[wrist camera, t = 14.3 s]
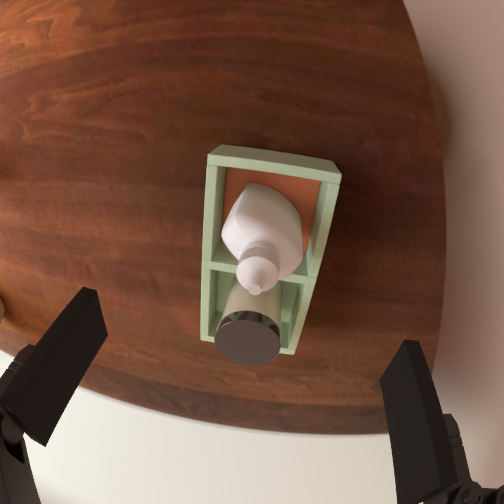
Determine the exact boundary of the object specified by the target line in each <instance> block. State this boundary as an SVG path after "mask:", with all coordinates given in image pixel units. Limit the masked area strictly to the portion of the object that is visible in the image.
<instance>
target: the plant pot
mask: <svg viewBox="0 0 504 504" xmlns="http://www.w3.org/2000/svg"><path fill="white" fill-rule="evenodd" d="M4 312H5V308H4V304H3V302H2V300H1V298H0V323H1V320H2V318H3V315H4Z"/></svg>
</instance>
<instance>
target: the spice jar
mask: <svg viewBox="0 0 504 504" xmlns="http://www.w3.org/2000/svg"><path fill="white" fill-rule="evenodd" d="M282 294H283V286H282V282H281V280H278V281H277V283H276V284H275V286H274V287H272V288H271V289H269V290H267V291H263V292H261V293H260V294H258V295H252V294H250V293H249V291H248V289H246V288H244V287H243V286H242V285H241V284H240V282H239V281H238V279H237V277H236V275H235V276H234V277H233V280H232V283H231V286H230V290H229V293H228V296H227V300H226V303H225V307H224V310H223V313H222V317H221V320H220V322H219V324H218V326H217V330H216V333H215V337H214V342H215V346H216V348H217V350H218V351H219V352H220V354H221V355H222V356H224V357H225V358H226V359H228V360H230V361H232V362H234V363H237V364H241V365H246V366H257V365H262V364H265V363H268V362H270V361H272V360H273V359H274V358H275V357H276V356H277V355H278V354H279V352H280V348H281V313H282Z"/></svg>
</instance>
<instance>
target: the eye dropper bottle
mask: <svg viewBox="0 0 504 504" xmlns="http://www.w3.org/2000/svg"><path fill="white" fill-rule="evenodd" d="M221 235H222V239H223V241H224V243H225V245H226V246H227V248H228V249H229V250H230V252H231V253H232V254H233V255H234V256H235V257H236V258H237V259H238V260H239V262H238V265H237V268H236V277H237V279H238V281H239V282H240V284H241V285H242V286H243V287H244V288H246V289H248V291H249V293H250V294H252V295H258V294H260V293H261V292H263V291H267V290H269V289H271V288H272V287H274V286H275V284H276V283H277V281H278V279H279V278H286V277H288V276H289V275H291V274H292V273H293V272H294V271H295V270H296V268H297V267H298V266H299V265H300V263H301V261H302V259H303V245H302V231H301V220H300V215H299V213H298V212H297V210H296V209H295V207H294V206H293V205H292V203H291V202H290V201H289V200H288V199H287V198H286V197H284V196H283V195H282V194H281V193H279V192H278V191H276V190H274V189H272V188H270V187H267V186H265V185H261V184H257V183H248V184H247V185H246V186H245V187H244V188H243V190H242V191H241V193H240V194H239V195H238V197H237V199H236V201H235V203H234V205H233V207H232V209H231V211H230V213H229V215H228V217H227V220H226V222H225V224H224V226H223V229H222V233H221Z"/></svg>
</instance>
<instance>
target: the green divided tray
mask: <svg viewBox="0 0 504 504" xmlns="http://www.w3.org/2000/svg"><path fill="white" fill-rule="evenodd" d="M207 164H208V165H207V173H206V188H205V205H204V224H203V247H202V278H201V340H204V341H209V342H214V337H215V333H216V330H217V326H218V324H219V322H220V320H221V317H222V313H223V310H224V307H225V303H226V300H227V296H228V293H229V290H230V286H231V283H232V280H233V277H234V276H235V275H236V268H237V265H238V262H239V260H238V259H237V258H236V257H235V256H234V255H233V254H232V253H231V252H230V250H229V249H228V248H227V246H226V245H225V243H224V241H223V239H222V235H221V233H222V229H223V226H224V224H225V222H226V220H227V217H228V215H229V213H230V211H231V209H232V207H233V205H234V203H235V201H236V199H237V197H238V195H239V194H240V193H241V191H242V190H243V188H244V187H245V186H246V185H247V184H248V183H257V184H261V185H265V186H267V187H270V188H272V189H274V190H276V191H278V192H279V193H281V194H282V195H283V196H284V197H286V198H287V199H288V200H289V201H290V202H291V203H292V205H293V206H294V207H295V209H296V210H297V212H298V213H299V215H300V220H301V231H302V245H303V259H302V261H301V263H300V265H299V266H298V267H297V268H296V270H295V271H294V272H293V273H292V274H291V275H289V276H288V277H286V278H279V279H278V280H281V282H282V286H283V294H282V313H281V348H280V352H279V353H284V354H292V355H294V353H295V350H296V347H297V344H298V341H299V337H300V334H301V331H302V328H303V324H304V321H305V318H306V314H307V311H308V308H309V304H310V301H311V297H312V294H313V290H314V287H315V283H316V280H317V276H318V272H319V269H320V265H321V261H322V257H323V253H324V250H325V246H326V242H327V238H328V234H329V230H330V226H331V221H332V217H333V213H334V209H335V204H336V200H337V196H338V191H339V186H340V185H339V184H340V182H341V177H342V174H341V173H340V171H339V170H338V168H337V167H336V165H335V164H334V162H333V161H330V160H325V159H319V158H314V157H308V156H302V155H297V154H290V153H284V152H278V151H271V150H264V149H256V148H249V147H241V146H232V145H223V144H221V145H220V146H219V147H217V148H216V149H215V150H213V151H212V152H211V153H209V154H208V160H207Z"/></svg>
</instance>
